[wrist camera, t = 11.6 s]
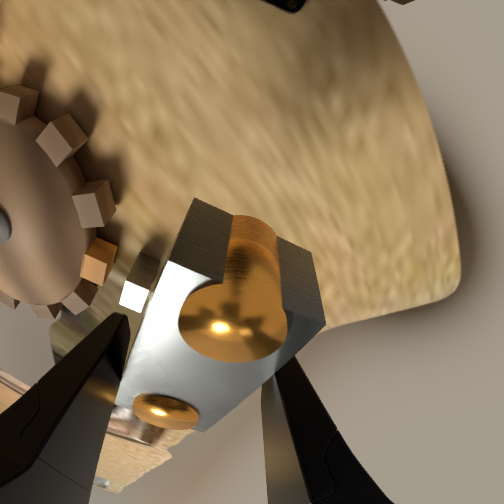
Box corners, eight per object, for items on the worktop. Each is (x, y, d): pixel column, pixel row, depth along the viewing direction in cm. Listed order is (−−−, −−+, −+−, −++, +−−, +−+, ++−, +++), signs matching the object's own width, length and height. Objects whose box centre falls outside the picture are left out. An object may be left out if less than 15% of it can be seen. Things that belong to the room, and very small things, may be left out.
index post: (160, 261, 21) (148, 290, 19) (151, 284, 22) (140, 313, 20) (139, 252, 21) (125, 280, 18) (131, 276, 22) (119, 303, 20)
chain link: (197, 190, 7) (168, 259, 5) (315, 247, 8) (333, 325, 6) (130, 349, 11) (111, 409, 9) (208, 378, 12) (201, 438, 10)
